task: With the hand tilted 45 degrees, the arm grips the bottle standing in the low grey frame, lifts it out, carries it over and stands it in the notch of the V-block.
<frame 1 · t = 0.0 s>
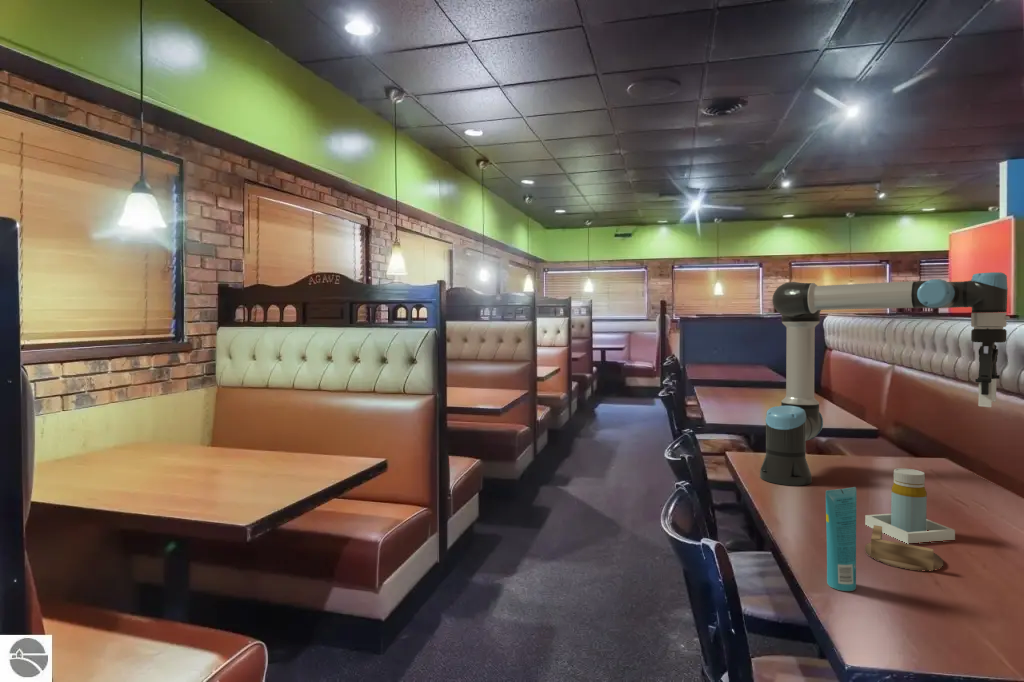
hand: (987, 404, 157), 28 cm above the table, tool pointing down, fingers open, 13 cm apart
v block: (902, 557, 122), on the table
tube: (840, 586, 110), on the table
grey frame: (908, 532, 136), on the table
bottle: (908, 533, 136), resting in grey frame
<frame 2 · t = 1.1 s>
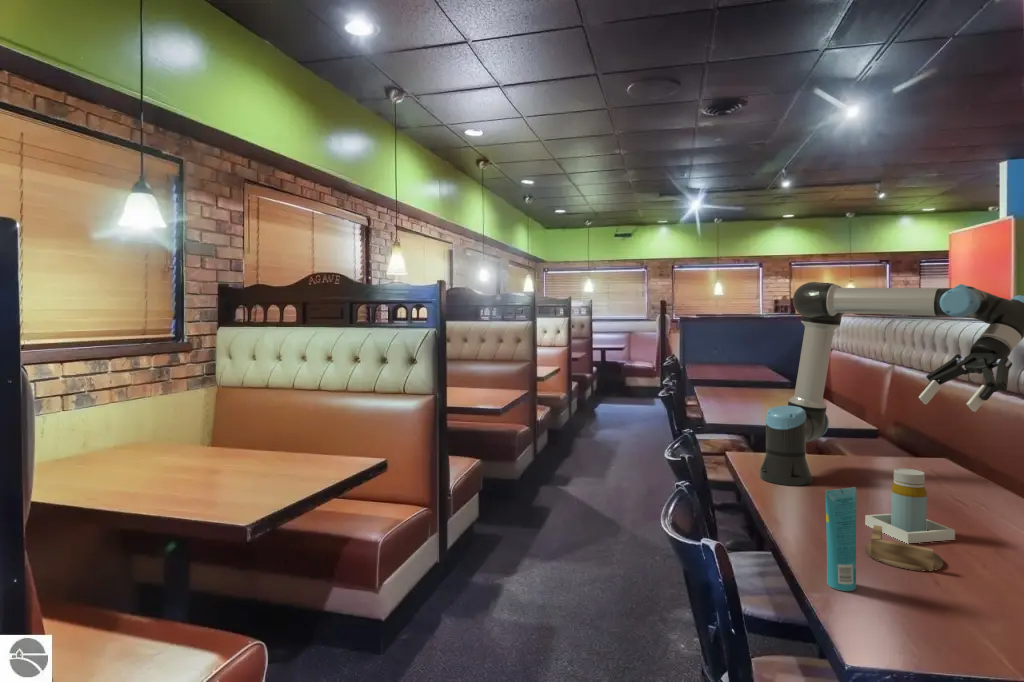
hand: (945, 404, 145), 30 cm above the table, tool tilted 45°, fingers open, 13 cm apart
nothing on the table moved.
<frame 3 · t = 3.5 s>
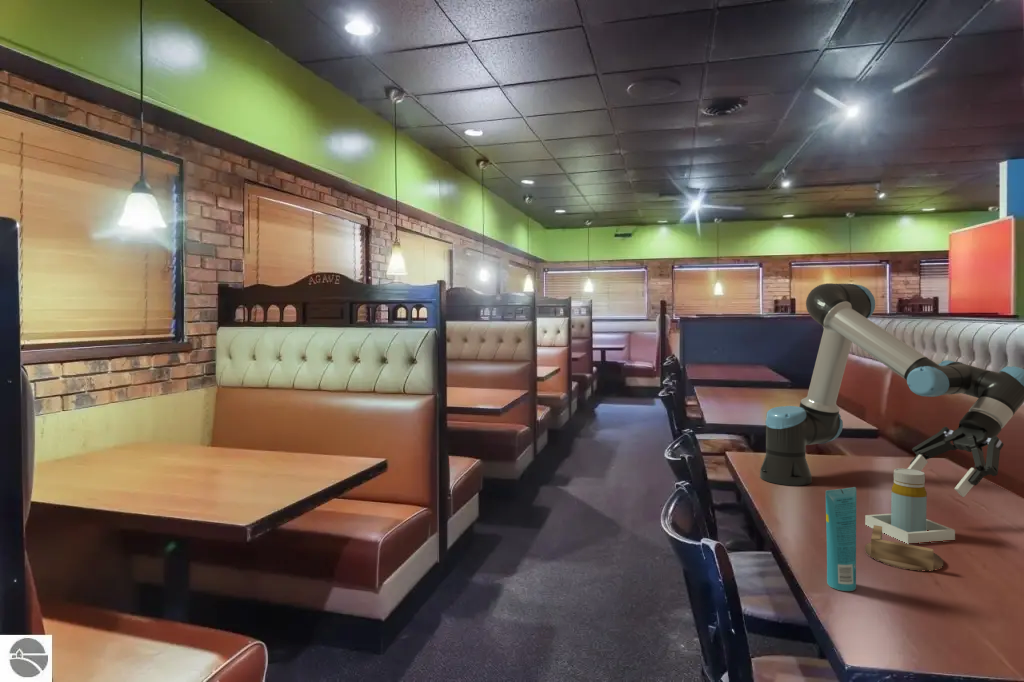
hand: (932, 484, 136), 12 cm above the table, tool tilted 45°, fingers open, 13 cm apart
nothing on the table moved.
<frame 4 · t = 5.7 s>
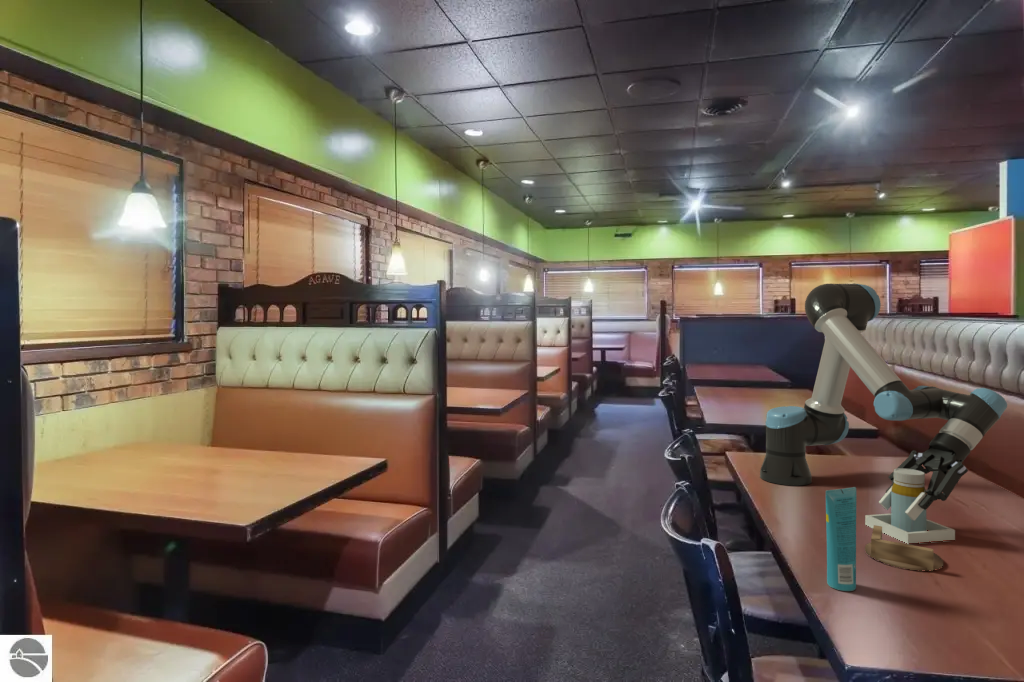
hand: (896, 511, 136), 6 cm above the table, tool tilted 45°, fingers closed on bottle, 7 cm apart
bottle: (908, 533, 136), resting in grey frame, touching gripper
everything else where it was.
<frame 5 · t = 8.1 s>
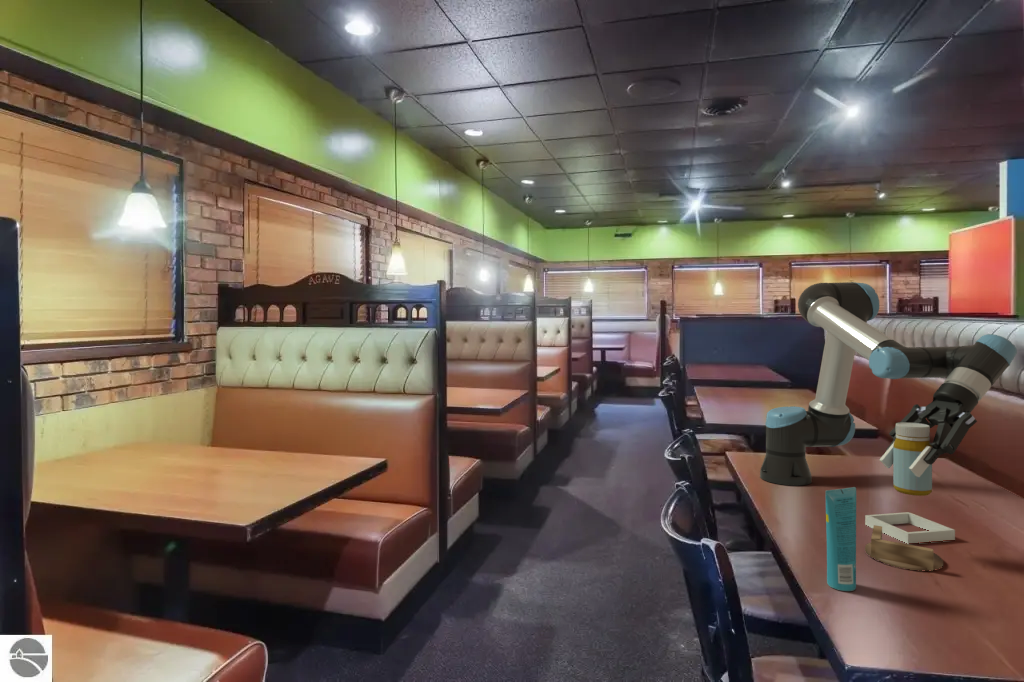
hand: (898, 468, 124), 19 cm above the table, tool tilted 45°, fingers closed on bottle, 7 cm apart
bottle: (912, 492, 125), point 13 cm above the table, touching gripper
everything else where it was.
when the fingers open (8 cm above the table, at t = 10.9 s): bottle drops 1 cm, resting on v block.
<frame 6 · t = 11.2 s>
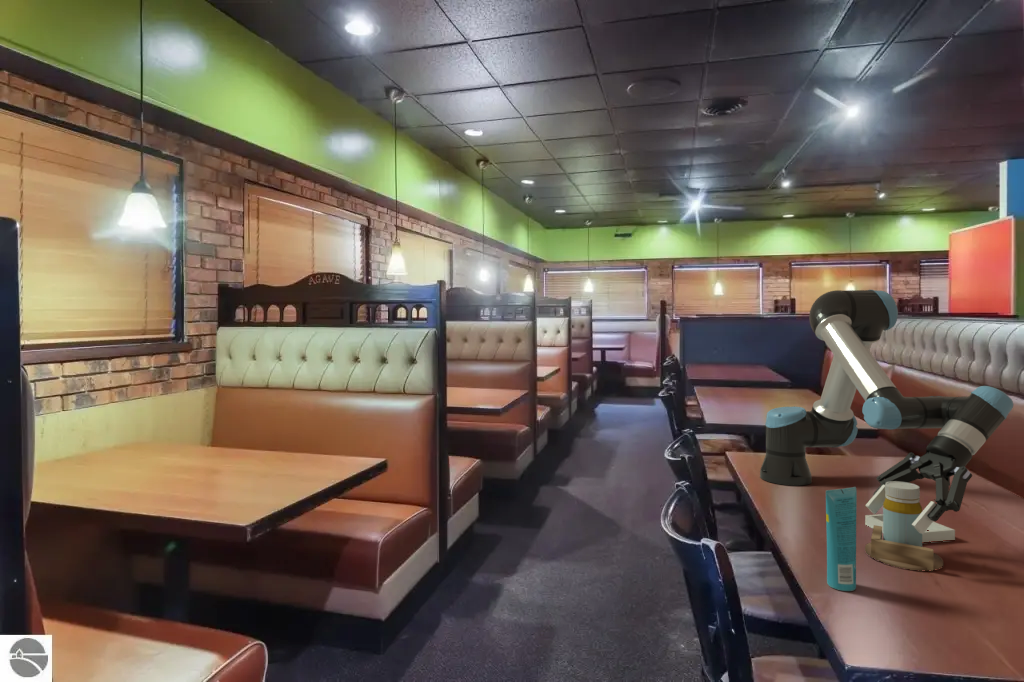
hand: (892, 519, 122), 9 cm above the table, tool tilted 45°, fingers open, 11 cm apart
bottle: (902, 553, 122), point 1 cm above the table, touching v block
everything else where it was.
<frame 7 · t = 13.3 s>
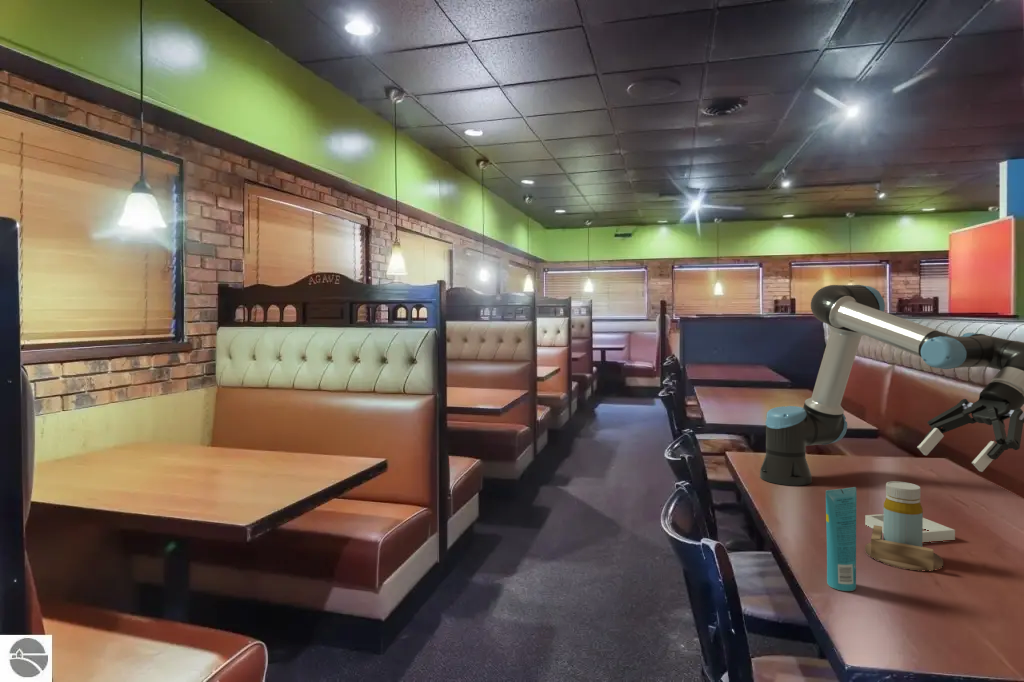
hand: (947, 459, 127), 20 cm above the table, tool tilted 45°, fingers open, 13 cm apart
nothing on the table moved.
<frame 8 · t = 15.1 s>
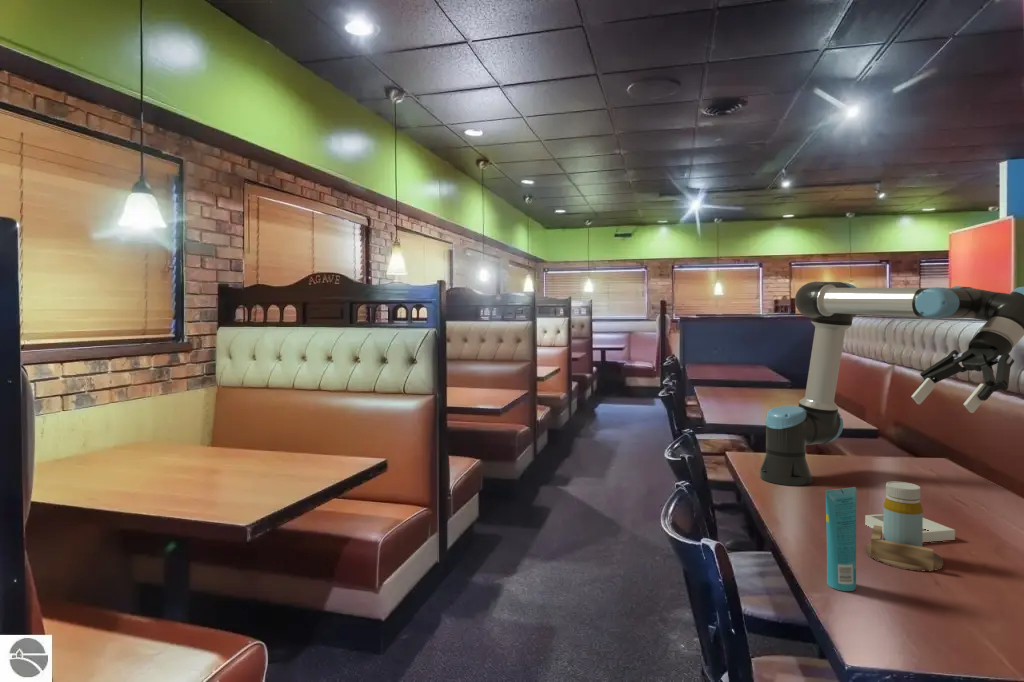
hand: (940, 404, 133), 32 cm above the table, tool tilted 45°, fingers open, 13 cm apart
nothing on the table moved.
at the end: bottle inside the target area on the v block (0.2 cm from its centre), point 0.6 cm above the v block's base; bottle tilted 0°; the gripper is holding nothing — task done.
